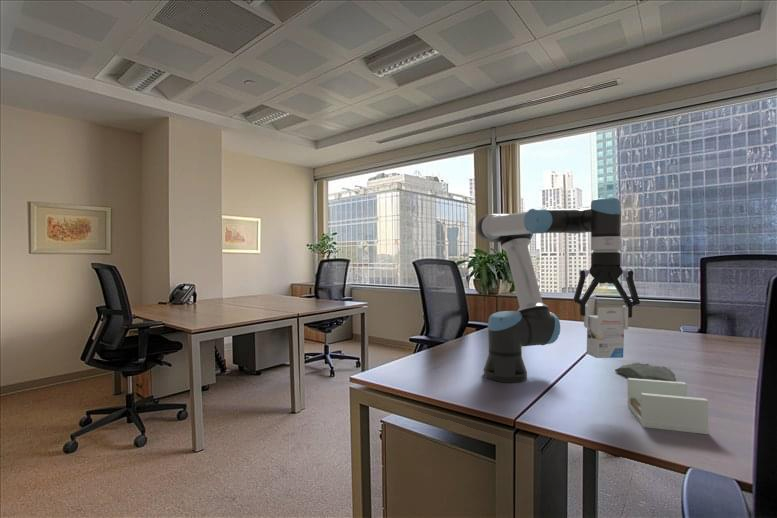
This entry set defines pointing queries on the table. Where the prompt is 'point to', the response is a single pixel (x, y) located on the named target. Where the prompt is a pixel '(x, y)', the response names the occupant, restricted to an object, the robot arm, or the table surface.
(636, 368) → the stone
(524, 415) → the table surface
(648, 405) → the rack
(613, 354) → the ink box
